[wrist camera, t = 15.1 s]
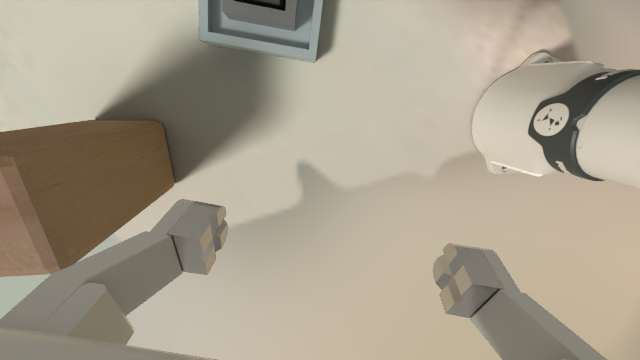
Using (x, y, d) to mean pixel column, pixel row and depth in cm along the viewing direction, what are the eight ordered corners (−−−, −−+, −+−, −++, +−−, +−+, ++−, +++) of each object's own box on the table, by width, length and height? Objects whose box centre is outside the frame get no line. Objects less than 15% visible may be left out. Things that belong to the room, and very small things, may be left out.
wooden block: (87, 119, 33) (-179, 153, 14) (165, 119, 34) (10, 152, 15) (108, 187, 37) (-87, 287, 18) (178, 186, 38) (63, 278, 19)
